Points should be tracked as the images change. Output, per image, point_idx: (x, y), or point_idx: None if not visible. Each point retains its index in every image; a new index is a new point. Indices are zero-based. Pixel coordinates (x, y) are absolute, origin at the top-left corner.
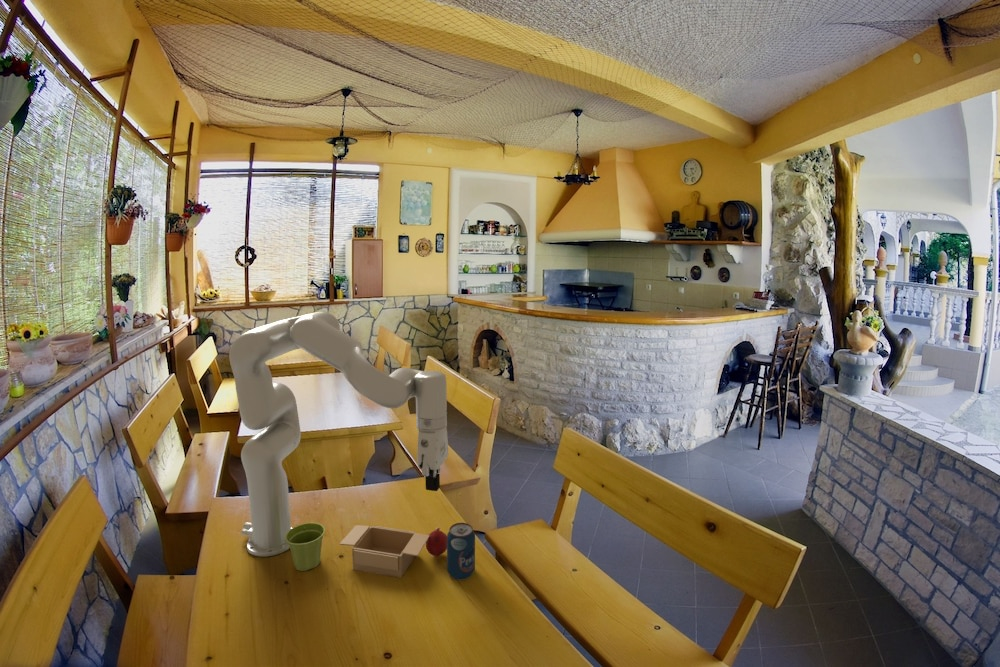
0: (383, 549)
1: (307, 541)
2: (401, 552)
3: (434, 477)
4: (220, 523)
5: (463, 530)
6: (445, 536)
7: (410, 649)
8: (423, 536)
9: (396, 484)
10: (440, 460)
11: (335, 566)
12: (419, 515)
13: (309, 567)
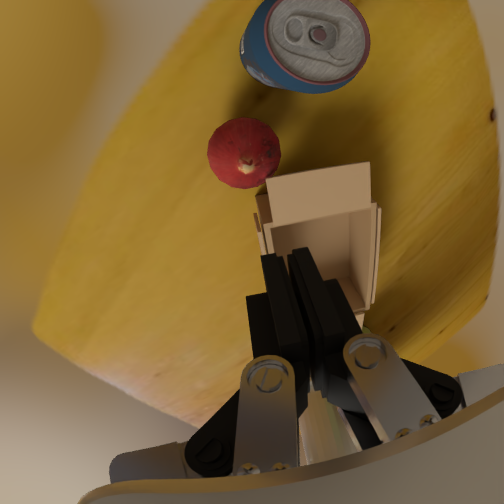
0: None
1: None
2: (273, 229)
3: (372, 339)
4: (299, 432)
5: (320, 23)
6: (235, 132)
7: (481, 84)
8: (279, 193)
9: (79, 360)
10: (493, 496)
11: None
12: (119, 277)
13: (368, 329)
